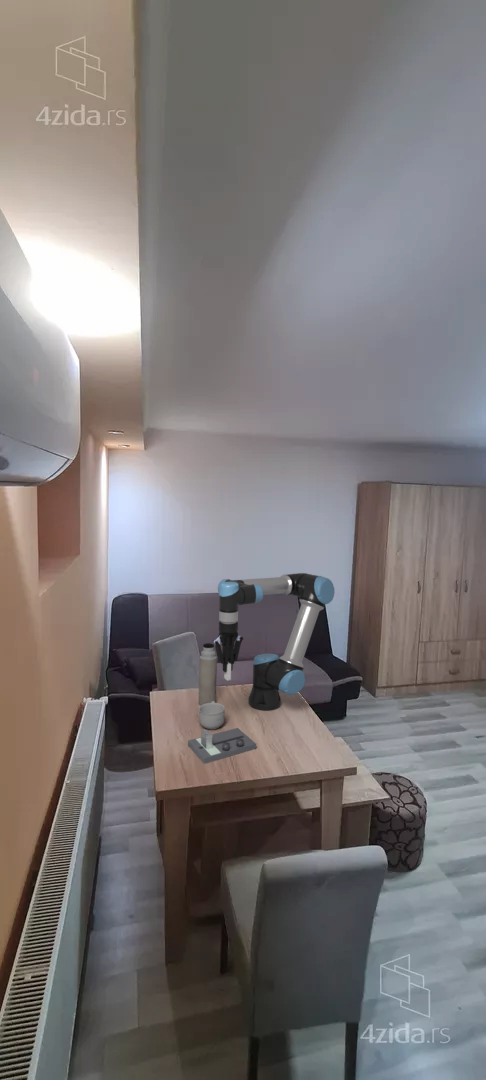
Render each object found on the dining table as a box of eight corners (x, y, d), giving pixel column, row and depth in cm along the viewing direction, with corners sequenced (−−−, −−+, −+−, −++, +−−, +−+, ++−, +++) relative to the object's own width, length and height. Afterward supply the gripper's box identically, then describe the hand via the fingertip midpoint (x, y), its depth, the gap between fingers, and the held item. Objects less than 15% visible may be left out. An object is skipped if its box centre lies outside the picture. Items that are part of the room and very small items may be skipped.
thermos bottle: (216, 700, 218) (217, 642, 216) (215, 707, 210) (216, 647, 208) (199, 699, 218) (200, 641, 216) (197, 706, 210) (199, 646, 208)
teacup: (220, 734, 186) (221, 714, 186) (194, 730, 189) (195, 711, 188) (228, 718, 200) (229, 700, 199) (204, 715, 202) (204, 697, 202)
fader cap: (206, 742, 175) (207, 729, 175) (212, 747, 171) (212, 734, 171) (201, 743, 174) (201, 730, 174) (206, 749, 170) (206, 735, 170)
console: (237, 732, 188) (237, 723, 188) (256, 748, 176) (256, 739, 176) (187, 745, 177) (188, 735, 176) (203, 763, 165) (204, 753, 164)
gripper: (237, 617, 189) (236, 673, 191) (209, 621, 182) (208, 678, 184) (247, 621, 183) (246, 679, 185) (218, 625, 176) (217, 685, 178)
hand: (227, 679), depth 185 cm, fingers closed
